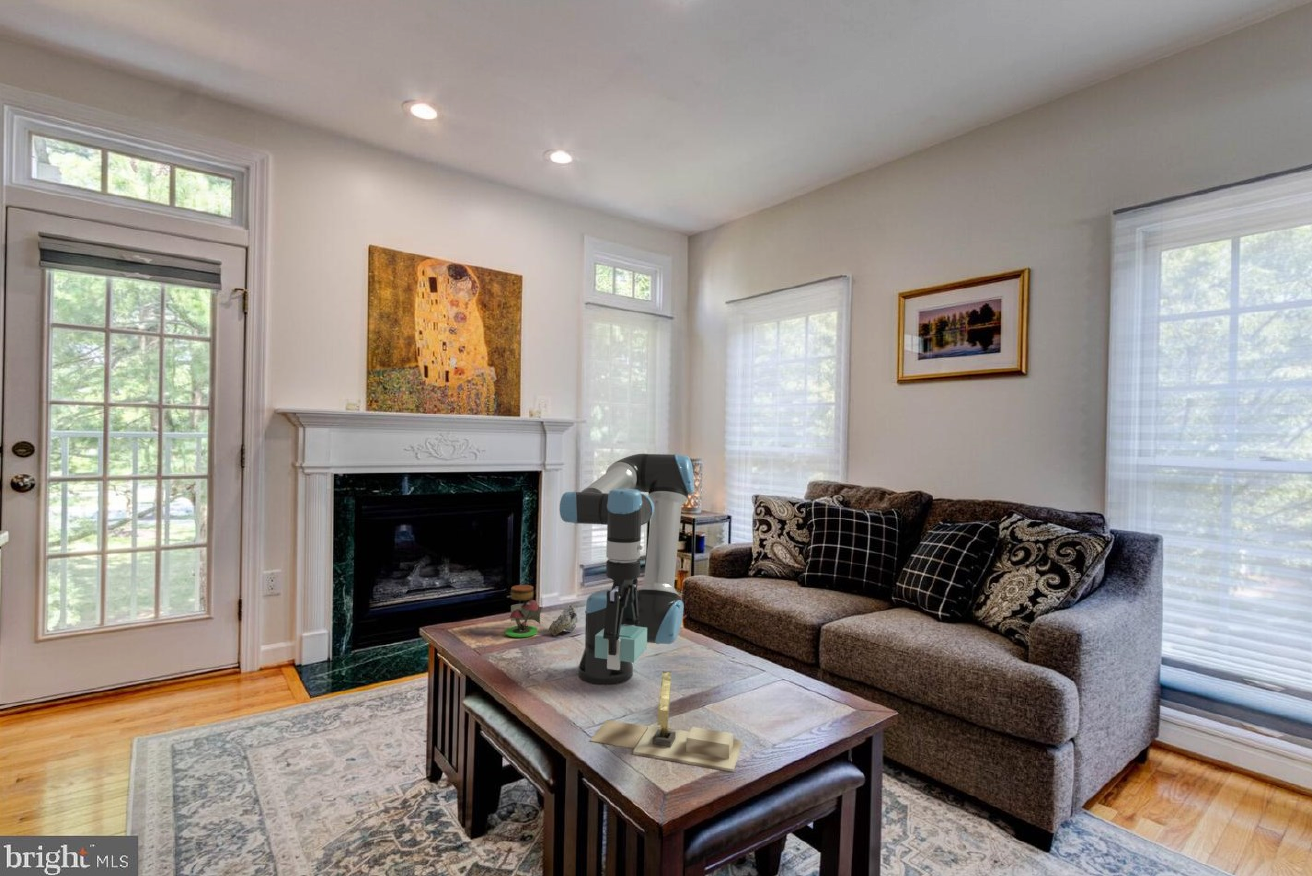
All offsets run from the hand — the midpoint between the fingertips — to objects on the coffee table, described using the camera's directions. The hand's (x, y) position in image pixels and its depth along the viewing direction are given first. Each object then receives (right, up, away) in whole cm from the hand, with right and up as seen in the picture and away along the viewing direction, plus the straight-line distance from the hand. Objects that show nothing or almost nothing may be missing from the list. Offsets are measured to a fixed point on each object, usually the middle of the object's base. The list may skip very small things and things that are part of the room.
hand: (621, 660), depth 135 cm
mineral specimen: (-20, -12, +64) cm, 68 cm away
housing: (+15, -17, -5) cm, 23 cm away
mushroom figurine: (-37, -15, +68) cm, 78 cm away
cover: (0, +2, 0) cm, 2 cm away
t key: (+9, -17, -4) cm, 19 cm away
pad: (0, -16, 0) cm, 16 cm away
